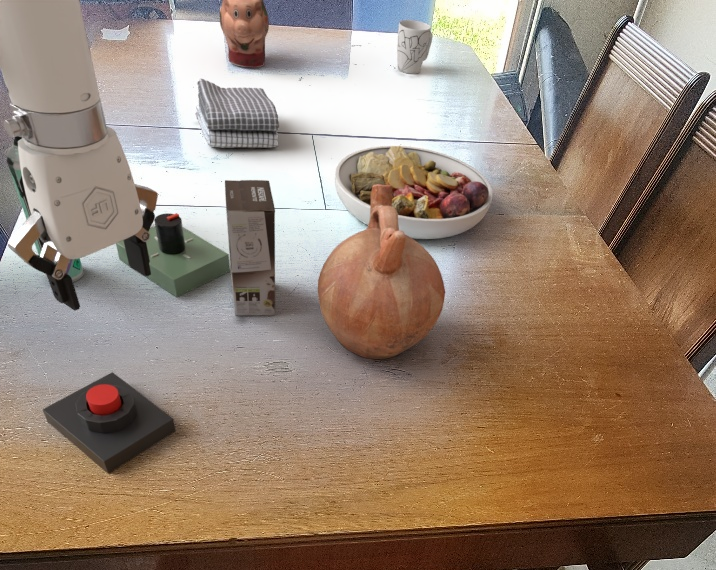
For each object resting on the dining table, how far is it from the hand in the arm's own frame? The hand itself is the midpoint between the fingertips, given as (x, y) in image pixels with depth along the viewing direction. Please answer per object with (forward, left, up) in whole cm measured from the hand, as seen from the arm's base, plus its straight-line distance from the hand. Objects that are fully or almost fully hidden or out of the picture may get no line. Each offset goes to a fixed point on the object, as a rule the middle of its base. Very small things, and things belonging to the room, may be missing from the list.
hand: (106, 287), depth 69 cm
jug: (+16, +32, -14) cm, 39 cm away
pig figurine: (-81, +98, -14) cm, 128 cm away
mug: (-52, +133, -14) cm, 144 cm away
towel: (-49, +65, -14) cm, 83 cm away
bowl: (-5, +69, -14) cm, 71 cm away
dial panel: (-18, +22, -14) cm, 32 cm away
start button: (+5, -7, -11) cm, 13 cm away
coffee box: (-3, +25, -14) cm, 29 cm away
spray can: (-27, +8, -14) cm, 32 cm away
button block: (+5, -7, -14) cm, 16 cm away
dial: (-18, +22, -11) cm, 31 cm away
